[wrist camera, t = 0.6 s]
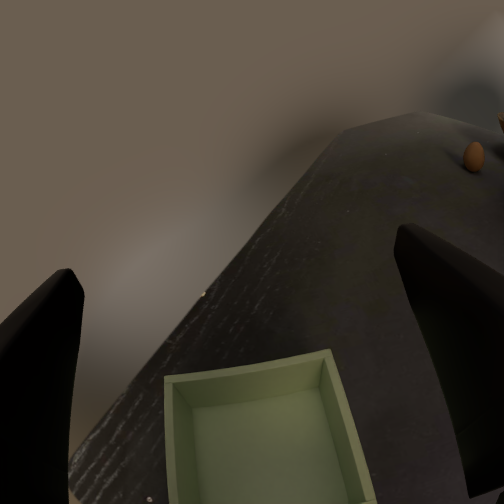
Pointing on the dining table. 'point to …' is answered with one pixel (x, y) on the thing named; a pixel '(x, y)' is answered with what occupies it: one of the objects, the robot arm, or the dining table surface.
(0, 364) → the robot arm
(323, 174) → the dining table surface
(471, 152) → the egg
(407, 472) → the dining table surface
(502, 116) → the bowl
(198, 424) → the bin
